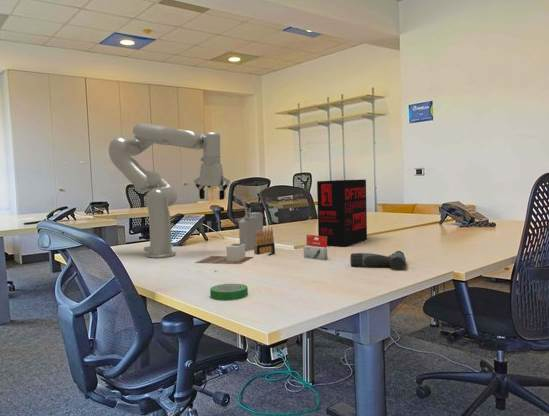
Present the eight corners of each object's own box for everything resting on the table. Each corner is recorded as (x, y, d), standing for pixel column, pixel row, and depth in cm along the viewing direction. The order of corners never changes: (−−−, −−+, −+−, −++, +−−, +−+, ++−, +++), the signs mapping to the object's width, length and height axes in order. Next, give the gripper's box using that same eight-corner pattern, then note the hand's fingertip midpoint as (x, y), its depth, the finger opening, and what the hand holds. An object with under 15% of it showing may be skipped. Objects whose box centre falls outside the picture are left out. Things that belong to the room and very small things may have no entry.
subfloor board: (194, 265, 183) (194, 262, 183) (211, 258, 198) (211, 255, 198) (240, 267, 177) (240, 263, 177) (254, 259, 192) (254, 256, 192)
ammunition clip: (257, 257, 198) (256, 230, 197) (254, 256, 200) (253, 229, 199) (275, 254, 205) (274, 227, 204) (272, 253, 207) (271, 227, 206)
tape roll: (219, 290, 142) (219, 282, 142) (252, 292, 139) (252, 283, 139) (204, 300, 132) (203, 291, 131) (240, 302, 128) (239, 292, 128)
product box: (342, 238, 248) (341, 180, 246) (367, 240, 240) (365, 179, 238) (318, 245, 226) (317, 181, 224) (344, 247, 218) (343, 180, 216)
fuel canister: (244, 251, 215) (242, 198, 213) (236, 250, 218) (234, 198, 216) (264, 246, 227) (262, 197, 225) (256, 246, 230) (254, 197, 228)
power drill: (355, 260, 186) (406, 262, 180) (349, 269, 168) (405, 271, 162) (355, 247, 185) (406, 248, 179) (348, 255, 168) (405, 256, 161)
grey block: (226, 261, 183) (226, 246, 182) (234, 258, 191) (233, 243, 190) (238, 261, 181) (237, 246, 181) (245, 258, 189) (244, 243, 189)
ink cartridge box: (324, 260, 186) (323, 236, 185) (303, 258, 193) (302, 235, 193) (328, 259, 188) (327, 236, 187) (307, 257, 195) (306, 234, 195)
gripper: (190, 160, 201) (190, 199, 202) (225, 160, 195) (225, 200, 196) (198, 160, 208) (198, 198, 209) (233, 160, 202) (233, 199, 203)
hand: (211, 199), depth 203 cm, fingers open, 9 cm apart
